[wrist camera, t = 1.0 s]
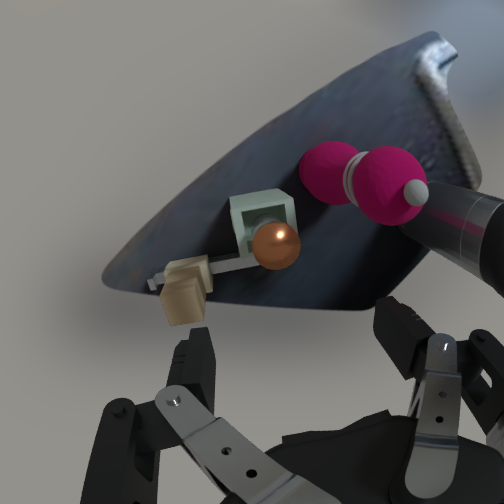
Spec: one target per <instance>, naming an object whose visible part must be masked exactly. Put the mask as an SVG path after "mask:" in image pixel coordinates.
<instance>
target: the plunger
mask: <svg viewBox="0 0 504 504" xmlns="http://www.w3.org/2000/svg"><path fill="white" fill-rule="evenodd" d="M251 233H252V236H253V239H252V251H253V255H254V257H255V259H256V261H257V262H258V263H259V264H260V265H261V266H263V267H265V268H267V269H270V270H280V269H284V268H286V267H288V266H290V265H291V264H292V263H293V262H294V261H295V260H296V259H297V257H298V255H299V253H300V248H301V243H300V238H299V236H298V234H297V233H296V231H295V230H294V229H293V228H292V227H291V226H290V225H288V224H286V223H284V222H281V221H280V220H279V219H278V218H277V217H276V216H275V215H273V214H270V213H263V214H260V215H258V216H257V217H256V218H255V219H254V220H253V222H252V224H251Z"/></svg>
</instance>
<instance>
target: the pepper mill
mask: <svg viewBox="0 0 504 504" xmlns="http://www.w3.org/2000/svg"><path fill="white" fill-rule="evenodd" d="M299 176H300V179H301V182H302V183H303V185H304V186H305V187H306V188H307V189H308V190H309V191H310V193H311V194H312V195H313V196H314V197H315V198H317V199H318V200H320V201H322V202H324V203H327V204H332V205H343V204H347V203H349V202H352V203H353V204H355V205H356V206H358V207H360V209H361V210H362V211H363V212H364V214H365V215H366V216H367V217H369V218H370V219H371V220H373V221H375V222H378V223H380V224H384V225H389V226H394V225H401V224H404V223H406V222H408V221H410V220H411V219H413V218H414V217H415V216H416V215H417V214H418V213H419V212H420V210H421V209H422V207H423V205H424V204H425V202H426V201H427V199H428V196H429V193H428V188H427V180H426V176H425V173H424V170H423V169H422V167H421V165H420V163H419V162H418V161H417V160H416V158H415V157H414V156H412V155H411V154H410V153H409V152H407V151H405V150H403V149H400V148H396V147H392V146H383V147H378V148H375V149H373V150H371V151H369V152H362V153H359V152H358V151H357V150H356V149H355V148H353V147H352V146H350V145H348V144H346V143H343V142H337V141H328V142H324V143H321V144H320V145H318V146H316V147H313V148H311V149H310V150H308V151H307V152H306V153H305V154H304V155H303V157H302V159H301V161H300V164H299Z"/></svg>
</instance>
